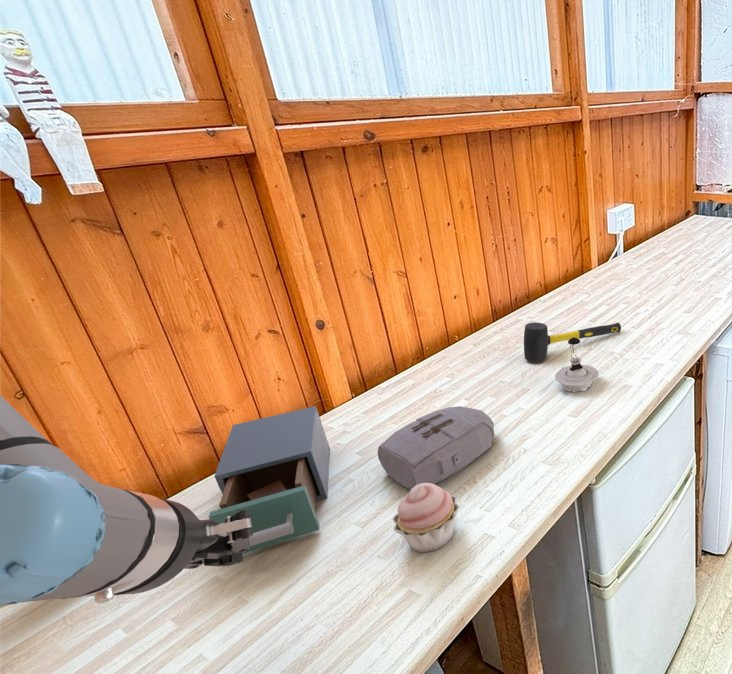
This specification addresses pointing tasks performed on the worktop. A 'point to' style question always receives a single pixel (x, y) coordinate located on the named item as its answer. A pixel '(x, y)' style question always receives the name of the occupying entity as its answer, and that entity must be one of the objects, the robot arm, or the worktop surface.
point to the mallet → (556, 338)
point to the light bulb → (576, 373)
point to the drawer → (273, 502)
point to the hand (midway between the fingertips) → (234, 552)
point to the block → (267, 490)
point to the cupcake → (426, 517)
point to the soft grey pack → (436, 445)
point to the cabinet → (277, 446)
